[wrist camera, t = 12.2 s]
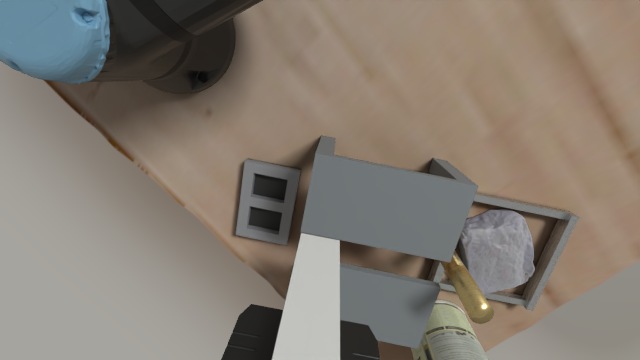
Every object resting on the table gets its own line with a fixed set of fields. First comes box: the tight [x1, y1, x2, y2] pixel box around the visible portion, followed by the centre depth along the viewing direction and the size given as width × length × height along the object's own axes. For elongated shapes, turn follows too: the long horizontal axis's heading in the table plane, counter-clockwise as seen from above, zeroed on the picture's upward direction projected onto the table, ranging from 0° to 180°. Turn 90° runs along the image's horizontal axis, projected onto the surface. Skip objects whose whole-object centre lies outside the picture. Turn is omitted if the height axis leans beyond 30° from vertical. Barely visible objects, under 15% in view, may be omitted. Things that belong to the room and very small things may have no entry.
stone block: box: [458, 209, 535, 295], centre depth 47 cm, size 12×5×10 cm
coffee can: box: [411, 300, 488, 360], centre depth 47 cm, size 10×10×14 cm
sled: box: [427, 192, 579, 324], centre depth 40 cm, size 16×18×17 cm
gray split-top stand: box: [295, 136, 479, 349], centre depth 43 cm, size 23×18×11 cm
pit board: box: [236, 159, 301, 245], centre depth 48 cm, size 12×8×2 cm, turn 169°
